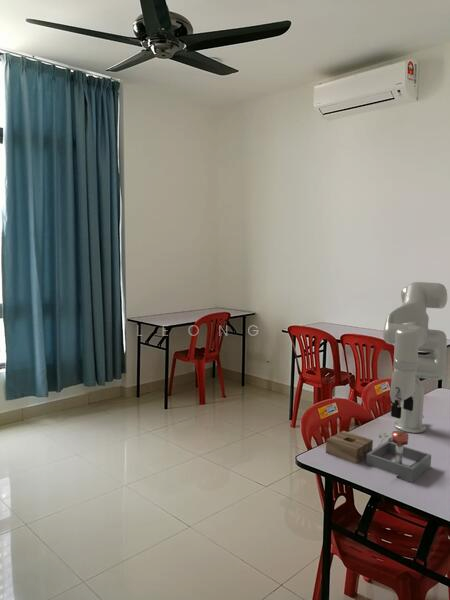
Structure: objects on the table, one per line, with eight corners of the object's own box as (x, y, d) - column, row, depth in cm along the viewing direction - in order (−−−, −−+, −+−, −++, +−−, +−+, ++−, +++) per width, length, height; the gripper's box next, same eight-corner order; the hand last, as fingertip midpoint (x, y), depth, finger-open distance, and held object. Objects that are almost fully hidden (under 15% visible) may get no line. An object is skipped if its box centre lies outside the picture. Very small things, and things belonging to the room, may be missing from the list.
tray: (386, 452, 178) (387, 441, 177) (430, 467, 167) (431, 454, 166) (365, 466, 166) (366, 453, 166) (411, 482, 155) (412, 469, 155)
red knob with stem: (394, 460, 170) (396, 429, 169) (408, 464, 166) (410, 433, 166) (387, 464, 166) (389, 433, 165) (402, 469, 163) (404, 437, 162)
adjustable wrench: (380, 459, 173) (380, 454, 173) (362, 454, 177) (363, 449, 177) (398, 436, 194) (398, 432, 194) (382, 433, 198) (382, 429, 198)
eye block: (342, 445, 183) (343, 430, 182) (371, 455, 175) (372, 440, 174) (325, 455, 174) (326, 439, 174) (355, 466, 166) (356, 449, 165)
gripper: (405, 358, 171) (402, 404, 174) (383, 368, 159) (380, 417, 161) (426, 362, 166) (422, 409, 169) (405, 372, 154) (401, 423, 156)
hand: (402, 413), depth 165 cm, fingers open, 9 cm apart
